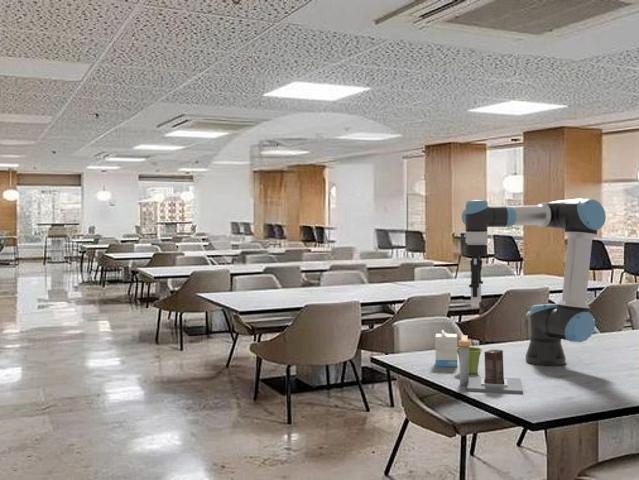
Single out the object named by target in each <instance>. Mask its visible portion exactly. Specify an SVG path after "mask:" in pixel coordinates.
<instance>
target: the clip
mask: <svg viewBox="0 0 639 480" xmlns="http://www.w3.org/2000/svg"><path fill="white" fill-rule="evenodd" d="M468 336H469V335H465V334H464V335H463V334H461V339H460V340H457V347H460V346H463V347H467V346H469V347H471V341H470V340H468Z"/></svg>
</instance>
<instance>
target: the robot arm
mask: <svg viewBox="0 0 639 480" xmlns="http://www.w3.org/2000/svg"><path fill="white" fill-rule="evenodd" d="M606 217H607V214H606V211H605V208H604V206H603V205H602V203H600V201H598V200H597V199H593V198H583V197H582V198H574V199H562V200H555V201H549V202H539V203H538V204H536V205H489V204H488V201H487V200H485V199H484V200H482V199H478V200H477V199H473V200H472V199H471V200H470V199H469V200H467V201H466V203H465V209H464V210H463V212H462V213H461V221H462V223H463V225H464V226H465V234H464V235H463V237H464V238H465V243H466V245H465V246H464V247H465V250H464V251H465V256H471V257H472V258H471V259H470V261H469V263H470V266H469V267H470V272H471V273H470V284H468V288H470V307H471V308H472V307H475V308H476V307H477V308H479V307H480V303H482V285H483V284H484V280H482V271H483V270H482V268H483V267H482V266H483V260H481V259H482V258H481V256H483V257H484V256H487V255H488V245H487V243H488V228H510V227H515V226H537V227H540V228H553V229H559V230H560V229H561V230H564V234H565V235H566V237H567V245H566V256H565V257H566V258H565V267H564V275H563V286H562V295H561V297H562V298H561V300H560V301H559V302H558V303H547V304H533V305H532V306H531V307H530V309H529V310H530V312H529V313H530V314H529V336H530V337H529V339H530V340H529V345H528V347H527V351H526V353H525V362H526V363H529V364H532V365H533V364H534V365H539V366H561V365H565V364H566V359H567V358H566V354H565V352H564V348H563V345H562V340H564V341H568V342H571V343H572V342H573V343H583V342H586V341H587V340H588V339H589V338H591V337H592V335H593V333H594V331H595V327H596V319H595V318H594V316H593V314H591V313H590V310H591V308H590V306H589V305H588V303H587V294H588V288H589V287H588V285H589V275H590V265H591V264H590V263H591V254H592V246H593V245H592V244H593V239H594V238H596V237H597V236H598V230H600V229H601V228H603V226H604V225H605V223H606V219H607V218H606Z"/></svg>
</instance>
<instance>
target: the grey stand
mask: <svg viewBox="0 0 639 480" xmlns="http://www.w3.org/2000/svg"><path fill="white" fill-rule="evenodd" d="M459 347H460V362H459V385H460V386H466V392H479V393H480V392H481V393H482V392H483V393H497V394H498V393H500V394H501V393H502V394H517V395H518V394H519V395H523V394H524V389H523V383H522V379H521V378H519V377H504V384H487V383H485V376H480V375H477V376H476V375H470V373H469V347H470V346H467V347H463V346H459Z"/></svg>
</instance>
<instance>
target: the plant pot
mask: <svg viewBox="0 0 639 480" xmlns="http://www.w3.org/2000/svg"><path fill="white" fill-rule="evenodd" d="M456 350H457V356H458V360H459V363H460V346H458V347H457V348H456ZM482 350H483V349H482V348H479V347H475V346H469V375H470V374H471V375H474V374H477V373H478V371H479V363H480V355H481V352H482Z"/></svg>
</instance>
